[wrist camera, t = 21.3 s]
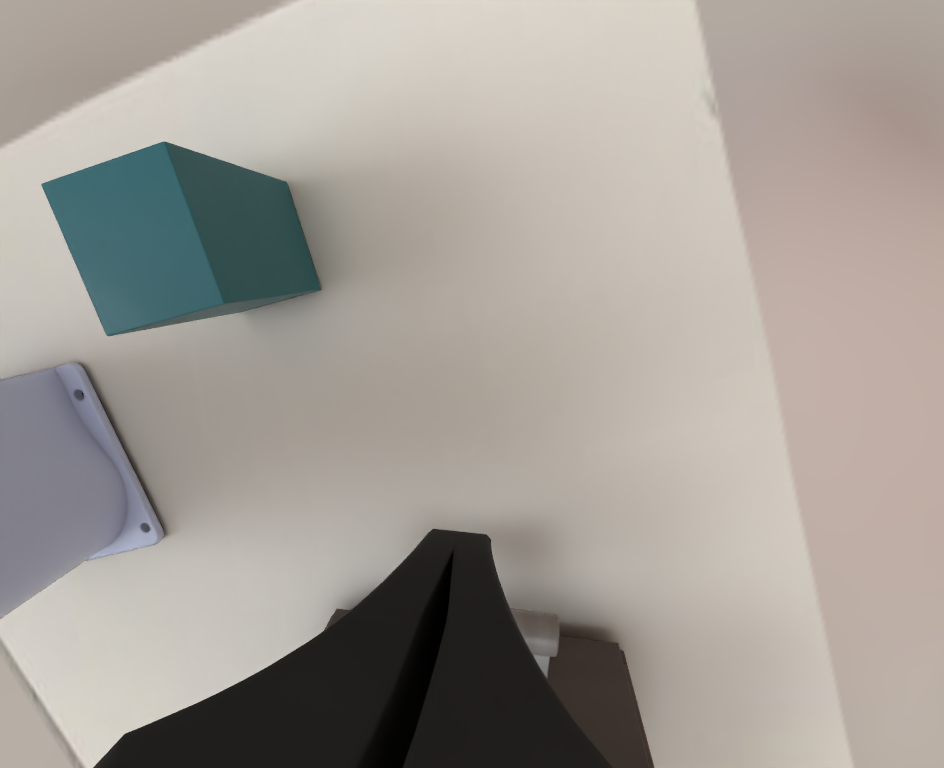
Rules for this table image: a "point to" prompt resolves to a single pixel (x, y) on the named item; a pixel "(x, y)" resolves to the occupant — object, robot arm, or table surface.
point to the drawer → (584, 685)
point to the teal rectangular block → (180, 238)
